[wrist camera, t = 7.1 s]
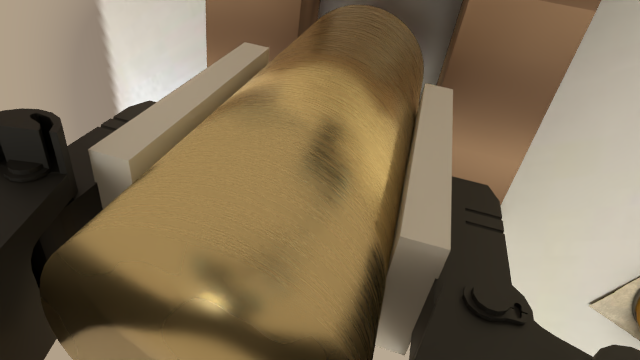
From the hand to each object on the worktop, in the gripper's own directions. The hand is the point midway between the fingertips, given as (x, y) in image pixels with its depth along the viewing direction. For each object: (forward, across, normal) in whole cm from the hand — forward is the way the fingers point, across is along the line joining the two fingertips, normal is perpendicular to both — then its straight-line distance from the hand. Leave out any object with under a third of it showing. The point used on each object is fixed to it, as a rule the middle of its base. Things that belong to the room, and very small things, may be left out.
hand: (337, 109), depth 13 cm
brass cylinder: (+3, 0, 0) cm, 3 cm away
